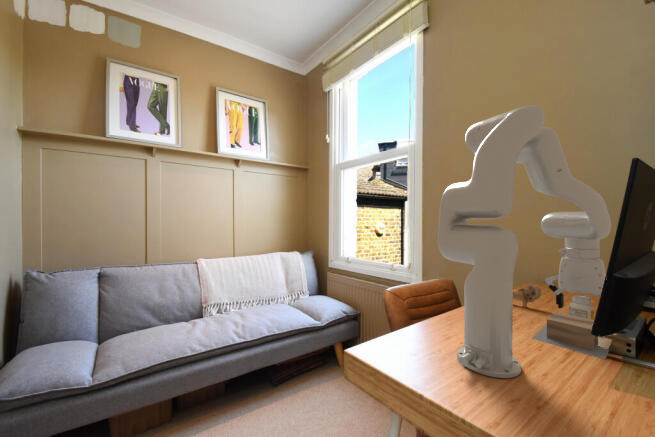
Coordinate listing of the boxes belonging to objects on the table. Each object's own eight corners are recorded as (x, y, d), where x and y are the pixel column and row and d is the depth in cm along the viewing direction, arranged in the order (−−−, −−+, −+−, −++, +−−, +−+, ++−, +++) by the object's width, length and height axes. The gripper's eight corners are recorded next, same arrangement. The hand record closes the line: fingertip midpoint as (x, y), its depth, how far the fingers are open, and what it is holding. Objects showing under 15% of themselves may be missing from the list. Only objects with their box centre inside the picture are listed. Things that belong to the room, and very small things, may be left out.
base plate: (605, 362, 63) (605, 359, 62) (531, 340, 73) (531, 338, 73) (613, 342, 73) (613, 339, 73) (547, 325, 83) (547, 323, 83)
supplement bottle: (578, 333, 78) (578, 299, 78) (564, 325, 83) (564, 294, 83) (599, 334, 78) (599, 300, 77) (583, 326, 83) (583, 295, 83)
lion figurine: (542, 309, 98) (542, 284, 98) (539, 313, 94) (540, 287, 94) (495, 301, 108) (495, 278, 108) (491, 304, 104) (491, 280, 104)
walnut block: (592, 350, 67) (592, 329, 67) (546, 337, 74) (546, 319, 74) (598, 339, 72) (598, 320, 72) (555, 328, 79) (555, 311, 79)
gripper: (541, 252, 85) (542, 307, 85) (623, 258, 71) (623, 323, 72) (548, 250, 89) (548, 301, 90) (626, 255, 76) (626, 316, 76)
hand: (582, 311), depth 81 cm, fingers open, 9 cm apart
